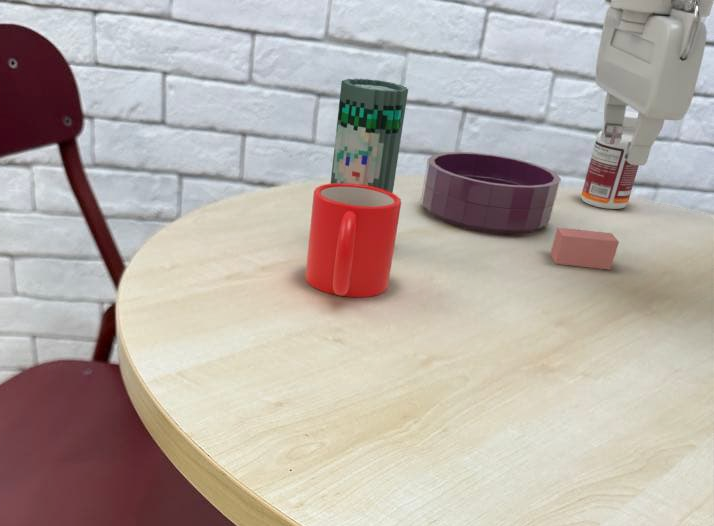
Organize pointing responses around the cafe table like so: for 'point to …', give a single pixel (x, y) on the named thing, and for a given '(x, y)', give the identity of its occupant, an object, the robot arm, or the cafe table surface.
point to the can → (368, 132)
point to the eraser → (584, 248)
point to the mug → (352, 239)
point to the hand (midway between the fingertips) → (621, 152)
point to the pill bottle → (611, 170)
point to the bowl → (489, 192)
